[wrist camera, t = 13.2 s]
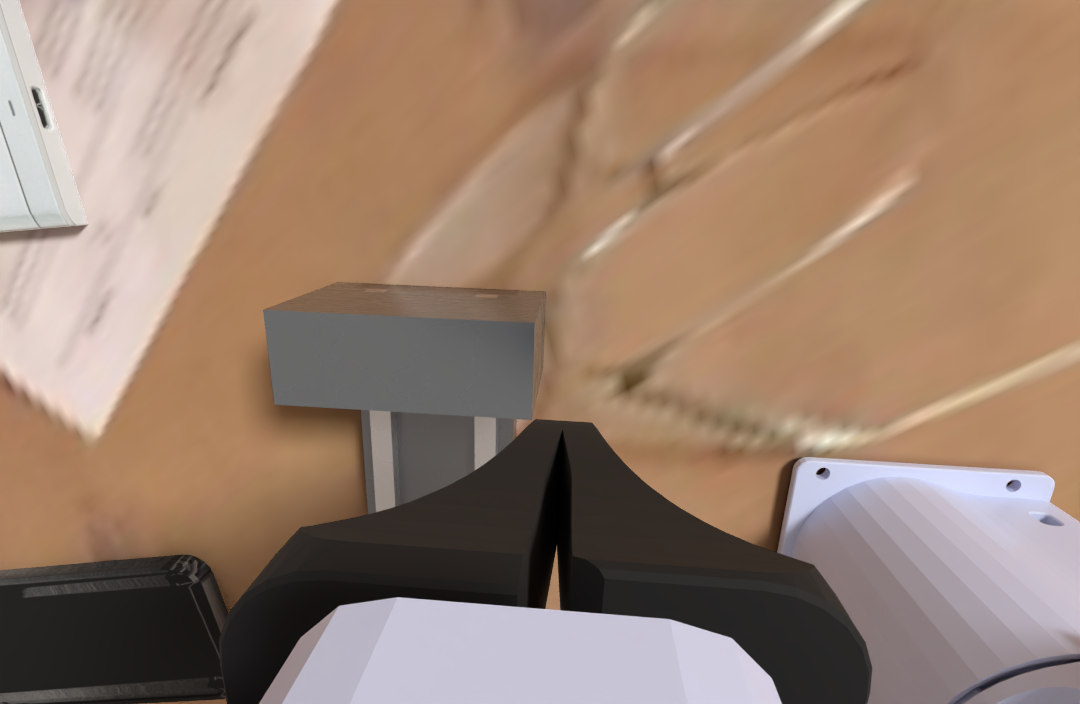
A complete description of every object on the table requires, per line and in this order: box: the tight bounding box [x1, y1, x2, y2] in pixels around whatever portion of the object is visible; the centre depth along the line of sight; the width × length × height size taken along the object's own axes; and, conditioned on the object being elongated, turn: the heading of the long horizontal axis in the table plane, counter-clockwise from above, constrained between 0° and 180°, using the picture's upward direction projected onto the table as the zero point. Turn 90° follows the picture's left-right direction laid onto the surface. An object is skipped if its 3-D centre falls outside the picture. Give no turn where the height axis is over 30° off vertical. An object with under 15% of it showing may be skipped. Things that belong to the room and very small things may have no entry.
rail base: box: [263, 282, 546, 514], centre depth 22 cm, size 8×30×6 cm, turn 178°
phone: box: [0, 555, 228, 704], centre depth 26 cm, size 8×1×15 cm
